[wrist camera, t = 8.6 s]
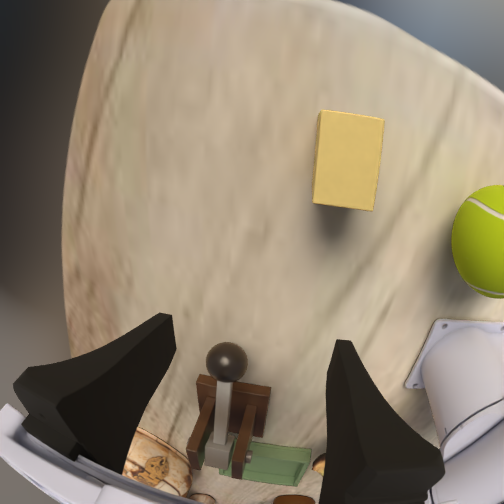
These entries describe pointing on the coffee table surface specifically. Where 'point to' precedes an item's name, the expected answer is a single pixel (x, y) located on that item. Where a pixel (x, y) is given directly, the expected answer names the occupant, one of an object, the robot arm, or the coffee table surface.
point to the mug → (293, 500)
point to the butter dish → (274, 464)
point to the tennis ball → (481, 241)
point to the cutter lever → (223, 400)
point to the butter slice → (347, 160)
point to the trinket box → (157, 464)
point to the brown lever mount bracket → (241, 421)
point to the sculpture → (202, 498)
